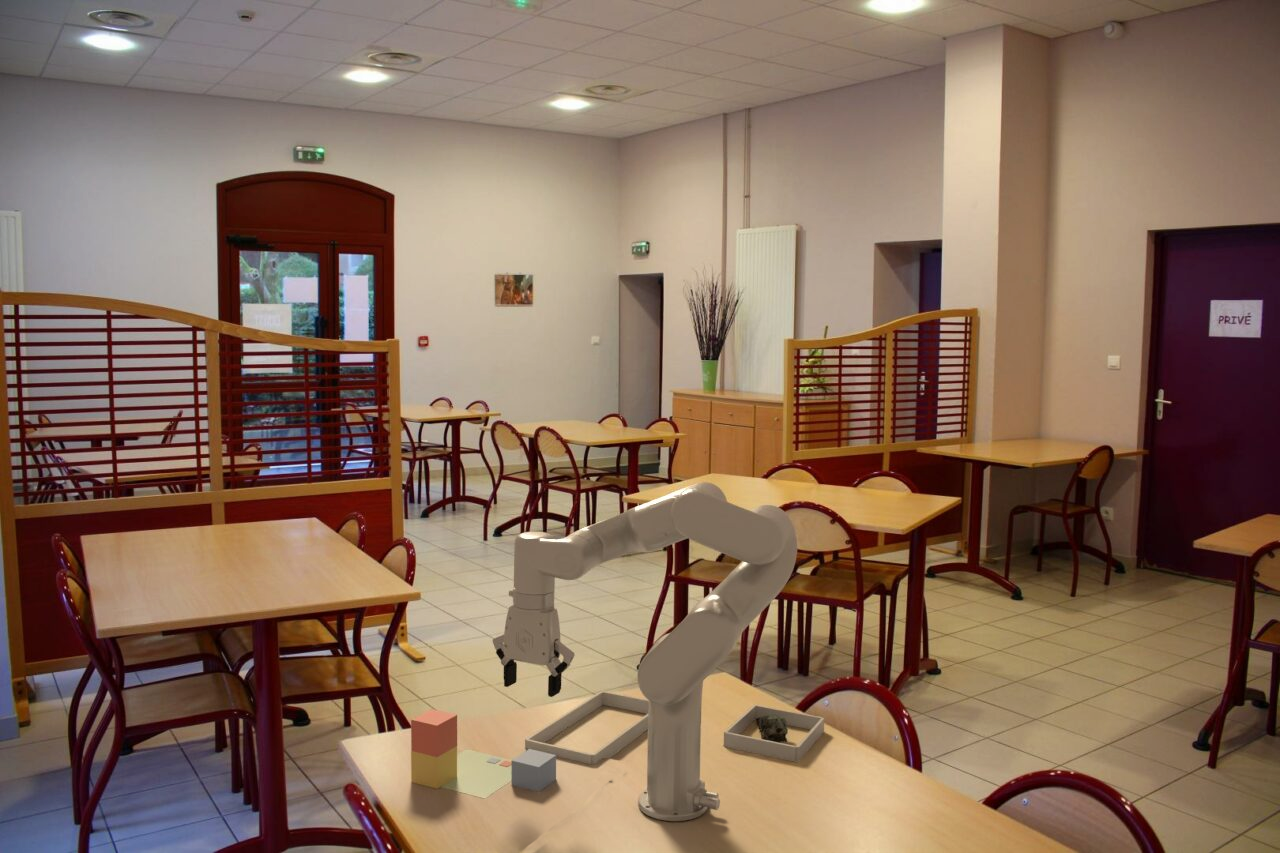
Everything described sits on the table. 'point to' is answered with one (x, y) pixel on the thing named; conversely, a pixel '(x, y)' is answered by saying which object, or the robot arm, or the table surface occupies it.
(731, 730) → the shell frame
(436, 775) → the ochre block
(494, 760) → the building board
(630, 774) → the table surface
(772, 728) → the dark grey lumpy lump
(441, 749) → the red block
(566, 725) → the beige open rectangular frame
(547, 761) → the slate block
